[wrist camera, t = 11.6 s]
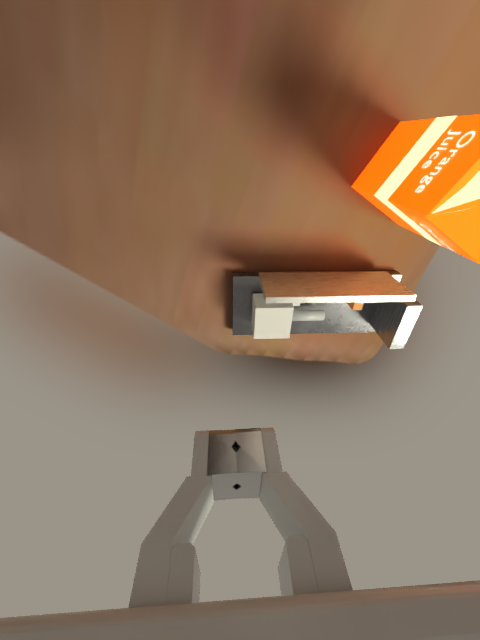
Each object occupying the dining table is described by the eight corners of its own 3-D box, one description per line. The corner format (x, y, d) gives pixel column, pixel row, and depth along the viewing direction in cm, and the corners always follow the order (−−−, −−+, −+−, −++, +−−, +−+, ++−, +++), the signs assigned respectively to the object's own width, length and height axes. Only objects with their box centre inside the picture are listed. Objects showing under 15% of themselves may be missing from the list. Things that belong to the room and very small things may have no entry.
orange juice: (400, 119, 29) (636, 95, 13) (448, 168, 32) (689, 200, 16) (349, 187, 33) (481, 238, 16) (396, 226, 36) (549, 301, 19)
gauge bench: (232, 329, 43) (234, 366, 36) (232, 268, 38) (235, 297, 31) (375, 326, 45) (404, 361, 38) (397, 266, 39) (436, 295, 32)
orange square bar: (338, 291, 39) (352, 310, 34) (340, 284, 38) (354, 302, 34) (346, 291, 39) (361, 310, 35) (348, 284, 38) (364, 302, 34)
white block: (251, 322, 41) (253, 338, 37) (253, 283, 37) (256, 297, 34) (315, 321, 41) (324, 337, 38) (324, 282, 38) (334, 296, 34)
